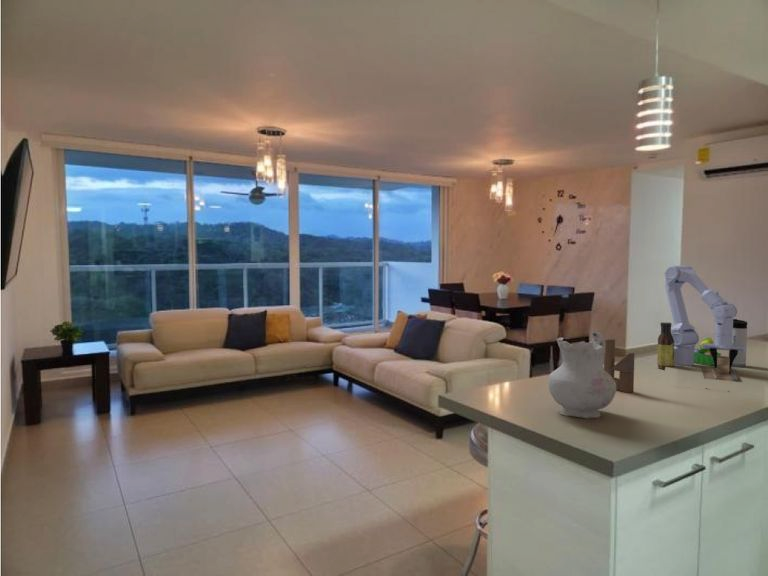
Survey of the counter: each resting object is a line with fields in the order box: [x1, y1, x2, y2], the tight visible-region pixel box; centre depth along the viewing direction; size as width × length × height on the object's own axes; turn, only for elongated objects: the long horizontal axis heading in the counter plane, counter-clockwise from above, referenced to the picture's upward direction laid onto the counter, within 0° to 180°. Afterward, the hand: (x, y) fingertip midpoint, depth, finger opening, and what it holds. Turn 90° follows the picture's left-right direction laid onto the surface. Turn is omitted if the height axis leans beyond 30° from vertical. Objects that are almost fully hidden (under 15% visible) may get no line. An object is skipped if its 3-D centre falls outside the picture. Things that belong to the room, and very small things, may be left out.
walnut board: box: [700, 366, 743, 383], centre depth 197 cm, size 12×22×2 cm, turn 150°
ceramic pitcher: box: [547, 330, 617, 420], centre depth 155 cm, size 22×20×25 cm
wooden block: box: [603, 337, 635, 394], centre depth 181 cm, size 4×11×18 cm, turn 31°
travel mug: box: [728, 318, 748, 368], centre depth 218 cm, size 6×7×20 cm
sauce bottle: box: [657, 321, 675, 370], centre depth 213 cm, size 6×6×20 cm
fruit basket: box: [694, 337, 722, 366], centre depth 223 cm, size 11×9×11 cm
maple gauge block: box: [715, 355, 730, 374], centre depth 200 cm, size 5×5×6 cm
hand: (722, 367), depth 200 cm, fingers closed on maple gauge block, 4 cm apart
